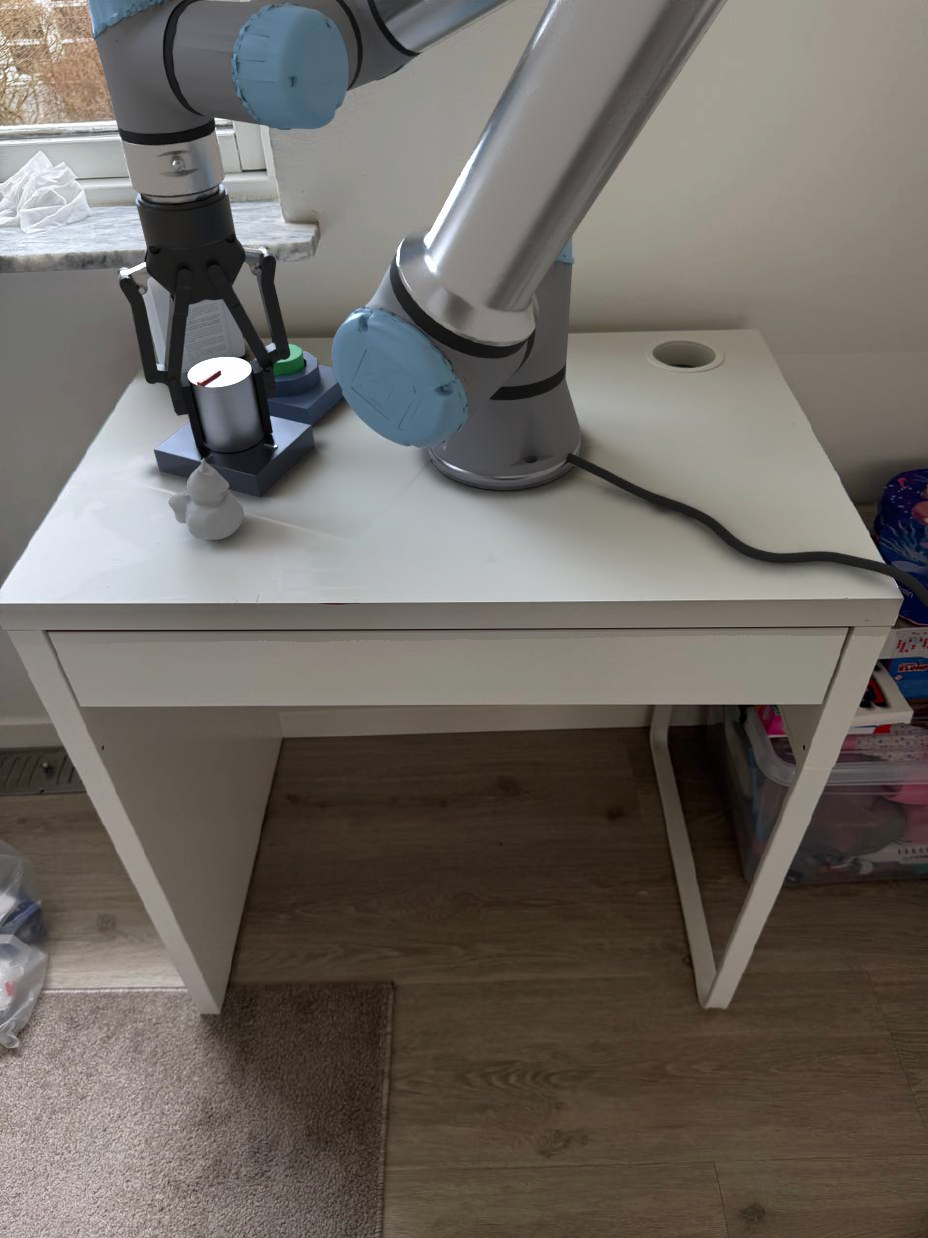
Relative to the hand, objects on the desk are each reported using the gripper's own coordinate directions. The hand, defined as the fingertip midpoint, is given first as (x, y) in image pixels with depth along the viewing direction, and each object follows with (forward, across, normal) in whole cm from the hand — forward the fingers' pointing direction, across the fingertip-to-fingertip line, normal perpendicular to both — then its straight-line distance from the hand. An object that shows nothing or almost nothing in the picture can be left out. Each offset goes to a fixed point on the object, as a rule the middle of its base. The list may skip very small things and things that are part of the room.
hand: (232, 433), depth 93 cm
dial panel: (+3, 0, 0) cm, 3 cm away
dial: (0, 0, 0) cm, 0 cm away
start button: (-1, +7, +10) cm, 13 cm away
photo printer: (+3, 0, +23) cm, 23 cm away
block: (+3, +7, +10) cm, 13 cm away
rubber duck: (+3, -4, -12) cm, 13 cm away
